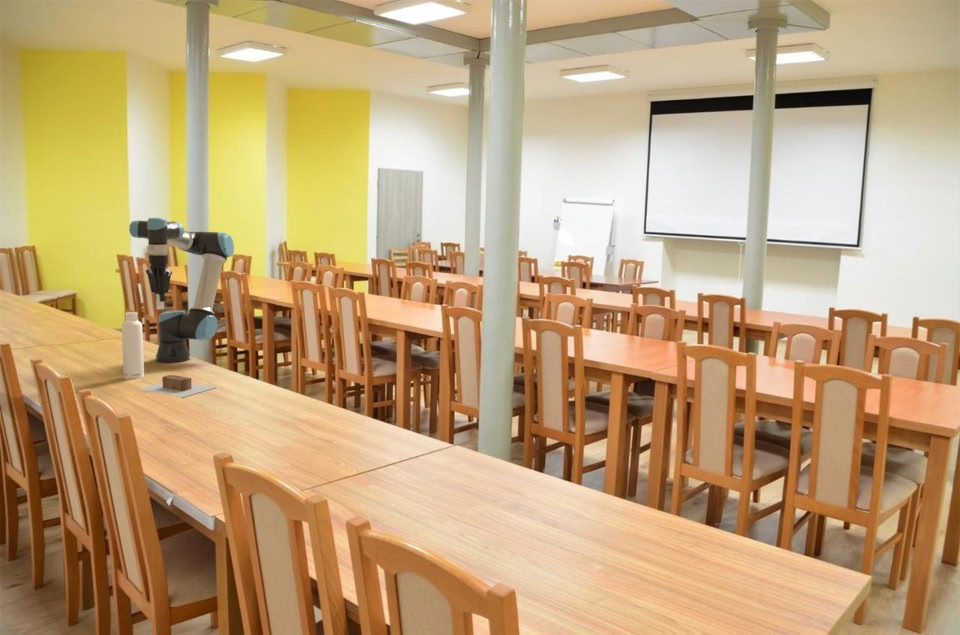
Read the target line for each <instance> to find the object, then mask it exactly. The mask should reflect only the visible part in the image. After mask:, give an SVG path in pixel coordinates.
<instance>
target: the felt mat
mask: <svg viewBox="0 0 960 635" xmlns="http://www.w3.org/2000/svg"><path fill="white" fill-rule="evenodd" d="M191 386H192V389H189V390H185V391H179V390H174V389H168V388H163V382H160V383H157V384H152V385H149V386H145V387H142V388H138V390H140V391H145V392H150V393H156V394H161V395H168V396H174V397H179V398H181V399H185V398H188V397H191V396H195V395H198V393H199V394H201V393H205V392H208V391H211V390H215V389H217V386H212V385H211V386H210V385H205V384H198V383H193V382H191Z"/></svg>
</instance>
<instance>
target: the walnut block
mask: <svg viewBox="0 0 960 635" xmlns="http://www.w3.org/2000/svg"><path fill="white" fill-rule="evenodd" d="M162 383H163V388H168V389H174V390H179V391H185V390H189V389H192V386H191V383H192V377H188V376H181V375H176V374H169V375H165V376H162Z"/></svg>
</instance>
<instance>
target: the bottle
mask: <svg viewBox="0 0 960 635" xmlns="http://www.w3.org/2000/svg"><path fill="white" fill-rule="evenodd" d="M124 316H125V321H123V322H122V323H121V339H122V340H121V342H122V343H121V346H122V368H123V379H125V380H132V379H134V380H135V379H140V378H143V377H145V363H144V340H143V339H144V337H143V324H142V322H141V321H139V319H138V312H137V311H128V312H125V314H124Z"/></svg>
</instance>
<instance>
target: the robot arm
mask: <svg viewBox="0 0 960 635" xmlns="http://www.w3.org/2000/svg"><path fill="white" fill-rule="evenodd" d="M129 234H130V236H131V237H132V238H137V239H146V240H147V242H148V245H147V246H148V254H149V255H148V263H149V264H150V266H149V267H150V268H149V269H146V270H145V273H146V274H147V278H148V283H149V286H150V292H152V293H154V295H155V298H154V299H155V302H156V310H165V301H166V300H165V297H166V296H165V294H167V293H169V289H170V283H171V277H172V274H173V271H171V270H169V269H168V266H167V264H169V256H168V253H169V252H168V251H169V250H168V249H169V248H168V245H169V246H173V247H175V248H176V249H178V250H179V251H182V252H185V253H189V254H192V255H197V256H201V258H202V259H203V263H202V268H201V272H200V277H199V281H198V285H197V289H196V294H195V298H194V301H193V302H194V303H193V306H192V307H190V308H189V310H188V314H187V313H186V312H185V310H181V309H180V310H172V311H166V312H161V313H160V314H159V315H158V321H157V324H158V341H159V343H158V348H157V352H156V355H155V360H156V362H160V363H180V362H185V361H189V360H190V359H191V354H190V352H189V349H188V345H187V342H186V340H198V341H208V340H210V339H212V338H213V337H214V336H215V335H216V333H217V330H218V326H219V325H218V319H217V317H216V316H215V312H214V311H213V308H214V303H215V299H216V295H217V290H218V286H219V281H220V277H221V272H222V268H223V265H224V264H225V263H227V260H228V258H230V257H232V256H233V255H234V251H235V243H234V239H233V238H232V236H231V235H230V234H229V233H227V232H221V231H219V232H215V231H187V230H185V228H184V225H183V224H182V223H181V222H179V221H167V219H166V218H165V217H148V219H147V220H133V221H131V222H130V223H129ZM189 357H190V358H189Z"/></svg>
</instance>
